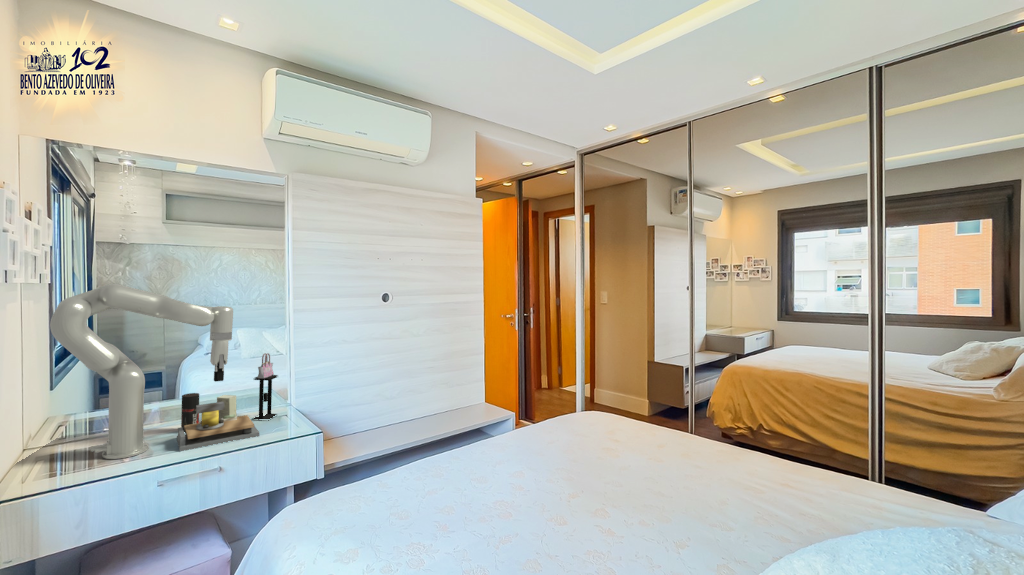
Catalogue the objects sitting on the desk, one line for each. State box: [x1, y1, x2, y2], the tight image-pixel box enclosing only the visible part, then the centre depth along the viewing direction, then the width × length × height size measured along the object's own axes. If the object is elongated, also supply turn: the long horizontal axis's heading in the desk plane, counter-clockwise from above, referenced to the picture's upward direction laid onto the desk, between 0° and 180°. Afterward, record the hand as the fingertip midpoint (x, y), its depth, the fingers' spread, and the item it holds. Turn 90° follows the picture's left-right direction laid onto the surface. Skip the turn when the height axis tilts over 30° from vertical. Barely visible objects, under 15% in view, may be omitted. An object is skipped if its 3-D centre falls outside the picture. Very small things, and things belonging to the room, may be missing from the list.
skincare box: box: [216, 394, 237, 420], centre depth 190 cm, size 6×4×12 cm
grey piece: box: [176, 425, 260, 452], centre depth 174 cm, size 26×14×5 cm, turn 132°
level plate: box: [184, 401, 255, 439], centre depth 174 cm, size 22×14×10 cm, turn 132°
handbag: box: [252, 352, 279, 422], centre depth 199 cm, size 10×8×30 cm
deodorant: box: [180, 392, 200, 434], centre depth 180 cm, size 6×6×15 cm
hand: (218, 380), depth 177 cm, fingers closed
